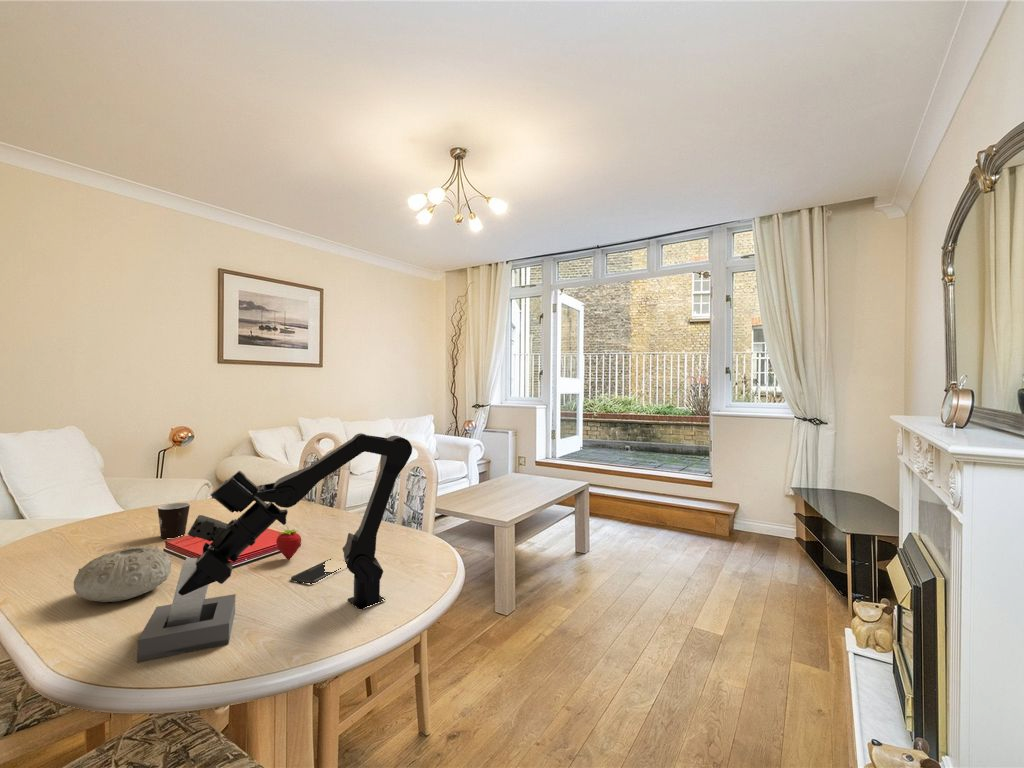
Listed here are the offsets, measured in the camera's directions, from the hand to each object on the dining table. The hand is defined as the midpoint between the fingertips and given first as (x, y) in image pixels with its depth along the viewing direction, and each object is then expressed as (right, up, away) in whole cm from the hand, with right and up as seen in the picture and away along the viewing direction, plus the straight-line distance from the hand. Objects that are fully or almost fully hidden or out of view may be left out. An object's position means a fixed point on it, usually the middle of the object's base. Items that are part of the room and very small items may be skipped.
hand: (182, 588), depth 90 cm
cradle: (+1, -10, +1) cm, 10 cm away
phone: (+14, -11, +33) cm, 37 cm away
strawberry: (0, -11, +42) cm, 43 cm away
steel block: (0, -8, 0) cm, 8 cm away
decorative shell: (-27, -10, +18) cm, 34 cm away
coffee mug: (-47, -10, +59) cm, 76 cm away
